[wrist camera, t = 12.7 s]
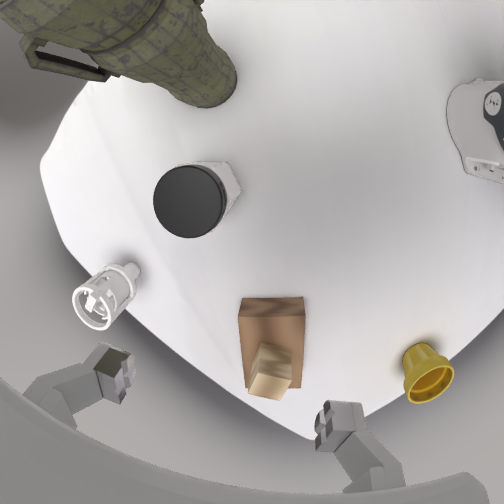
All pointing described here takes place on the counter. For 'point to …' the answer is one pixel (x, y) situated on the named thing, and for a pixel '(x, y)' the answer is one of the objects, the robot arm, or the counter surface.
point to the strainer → (107, 293)
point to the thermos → (128, 43)
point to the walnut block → (272, 331)
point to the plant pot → (425, 373)
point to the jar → (195, 197)
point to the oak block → (270, 372)
